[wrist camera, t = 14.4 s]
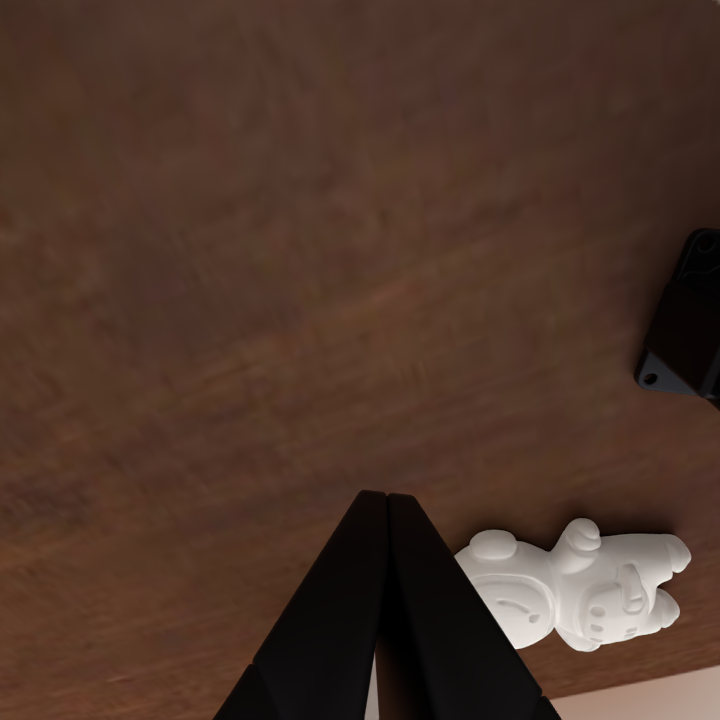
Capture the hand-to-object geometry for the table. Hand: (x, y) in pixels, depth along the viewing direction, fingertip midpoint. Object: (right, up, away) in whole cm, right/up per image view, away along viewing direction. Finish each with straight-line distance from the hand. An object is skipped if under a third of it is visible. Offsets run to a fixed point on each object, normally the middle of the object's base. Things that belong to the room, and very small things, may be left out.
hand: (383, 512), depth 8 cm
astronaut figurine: (+10, -9, +19) cm, 23 cm away
